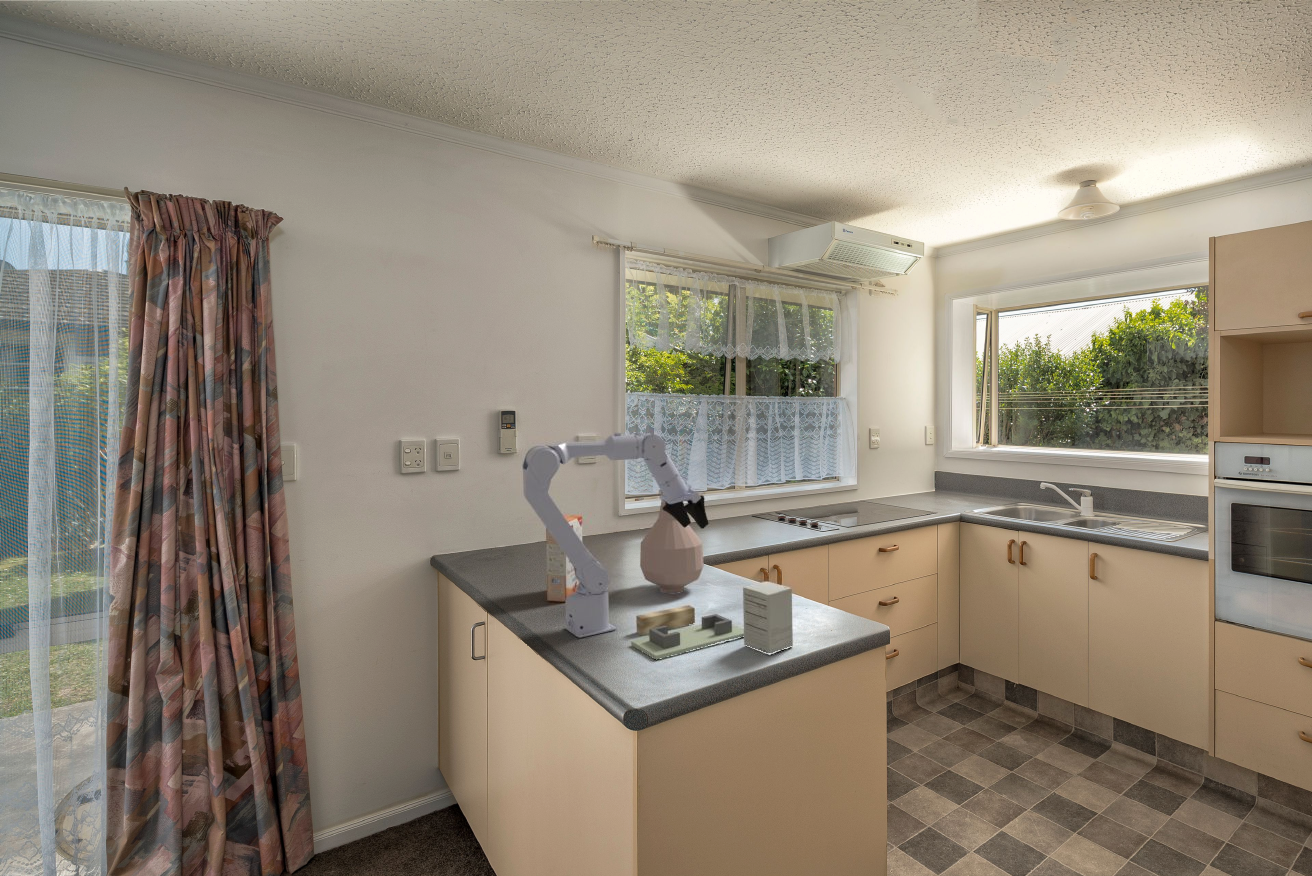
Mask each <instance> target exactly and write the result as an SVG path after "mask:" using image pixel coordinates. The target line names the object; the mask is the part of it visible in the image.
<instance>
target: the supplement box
mask: <svg viewBox="0 0 1312 876" xmlns="http://www.w3.org/2000/svg"><path fill="white" fill-rule="evenodd" d="M742 596H743V597H742V600H743V601H742V603H743V604H742V605H743V607H742V608H743V629H744V638H743V644H744V645H747V646H750V647H752V648H755V649H758V650H761V651H763V652H766V653H773V652H775V651H778V650H782V649H784V648H787V647H790V646H793V645H794V642H793V641H794V639H793V638H794V637H793V634H794V633H793V590H792V587H789V586H786V585H781V584H778V583H774V582H772V581H762V582H758V583H755V584H751V585H747V586H743V588H742ZM793 647H794V646H793Z"/></svg>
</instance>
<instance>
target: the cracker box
mask: <svg viewBox="0 0 1312 876" xmlns="http://www.w3.org/2000/svg"><path fill="white" fill-rule="evenodd" d="M563 516H564V517H565V518H566V520H567V521H568V523H569V524H570V526H571V527H572V528H573V530H574V531H575V533H576V534H577V536H578V537H579V538H580V540H581V541H582V542H583V516H582V515H577V514H575V515H573V514H572V515H571V514H570V515H564V514H563ZM545 537H546V538H545V540H546V541H545V545H546V547H545V548H546V551H545V552H546V553H545V554H546V556H545V557H546V601H547V602H554V603H555V602H558V603H565V602H566V597H567V596H568V595H569V594H573V593H575V592H576V591H577V586H578V584H579V582H580V581H578V580H577V578H576V576H575V571H574V567H573V565H572V564H571V562H570V561H569V559H568V557H567V556H566V554H565V553H564V552H563V550H562V549H561V547H560V546H559V545H558V543H557V542H556V540H555V539H554V538H553V536H552V535H551V533H550V532H549V531H548V529H547V528H546V527H545Z"/></svg>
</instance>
